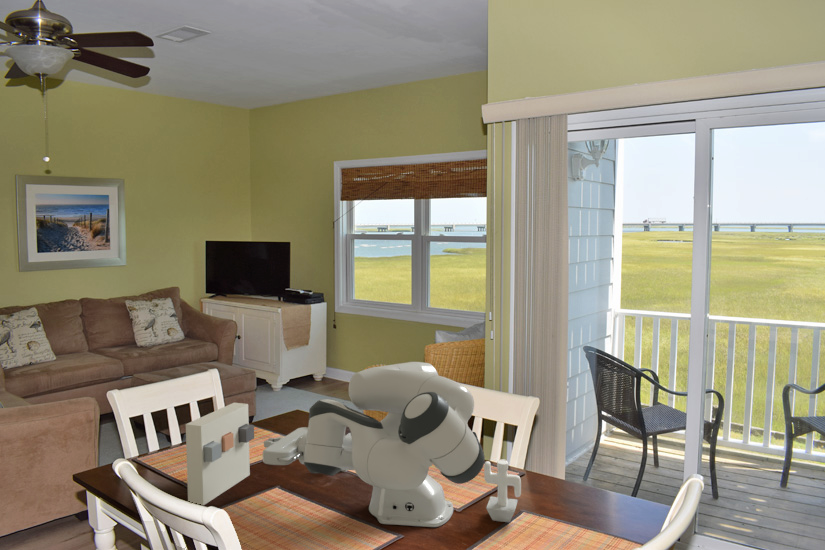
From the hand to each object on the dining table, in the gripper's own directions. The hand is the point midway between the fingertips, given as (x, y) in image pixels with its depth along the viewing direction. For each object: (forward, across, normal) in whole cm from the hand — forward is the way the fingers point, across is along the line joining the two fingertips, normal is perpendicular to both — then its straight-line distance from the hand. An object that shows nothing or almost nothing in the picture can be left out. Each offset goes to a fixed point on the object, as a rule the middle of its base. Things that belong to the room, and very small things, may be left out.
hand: (266, 442), depth 173 cm
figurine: (-65, +8, -15) cm, 67 cm away
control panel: (+16, 0, -16) cm, 22 cm away
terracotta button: (+14, 0, -3) cm, 15 cm away
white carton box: (-12, +26, -16) cm, 33 cm away
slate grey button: (+13, -8, -3) cm, 15 cm away
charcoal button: (+13, +8, -3) cm, 16 cm away
